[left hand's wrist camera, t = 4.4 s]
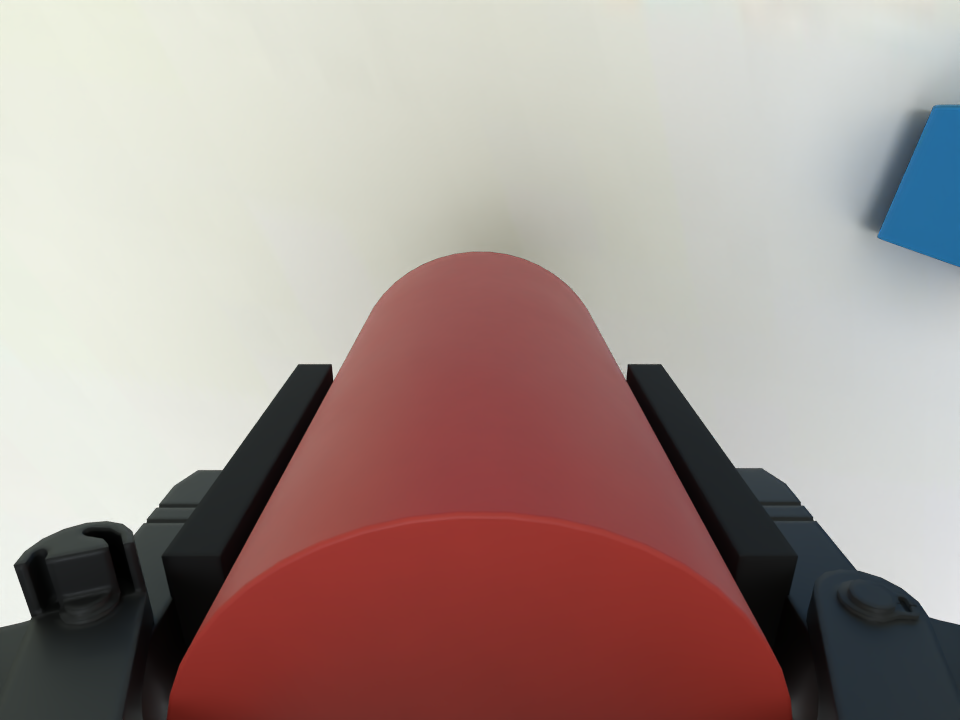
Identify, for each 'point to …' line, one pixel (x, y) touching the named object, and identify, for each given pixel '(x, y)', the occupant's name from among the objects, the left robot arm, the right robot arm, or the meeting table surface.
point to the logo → (930, 192)
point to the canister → (479, 536)
